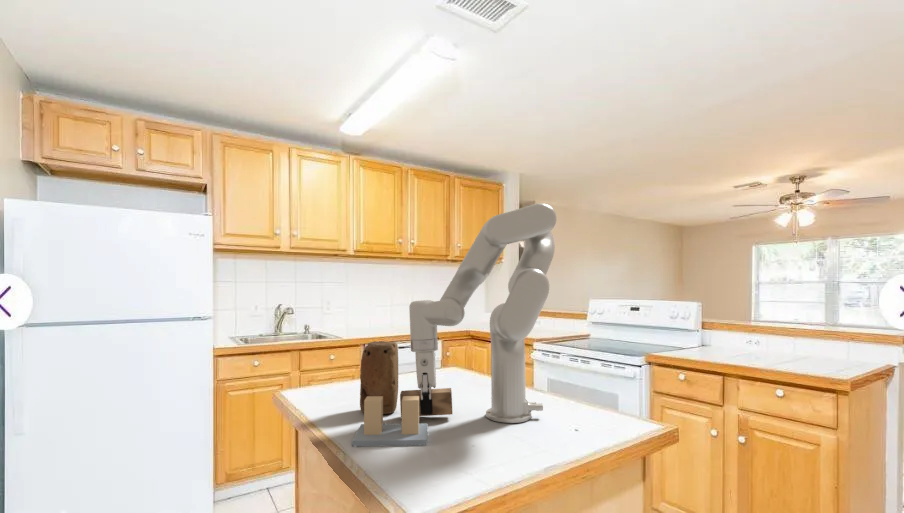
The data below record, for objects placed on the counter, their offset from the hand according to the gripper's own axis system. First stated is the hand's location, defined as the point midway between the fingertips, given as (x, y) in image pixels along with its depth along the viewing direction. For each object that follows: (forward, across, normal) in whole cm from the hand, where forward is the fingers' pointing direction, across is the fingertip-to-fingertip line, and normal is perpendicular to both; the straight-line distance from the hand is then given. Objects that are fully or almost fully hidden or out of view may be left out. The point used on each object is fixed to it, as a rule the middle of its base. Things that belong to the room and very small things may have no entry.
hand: (426, 410), depth 123 cm
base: (+2, -14, +8) cm, 16 cm away
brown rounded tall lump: (+2, +7, +14) cm, 16 cm away
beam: (+1, 0, 0) cm, 1 cm away
